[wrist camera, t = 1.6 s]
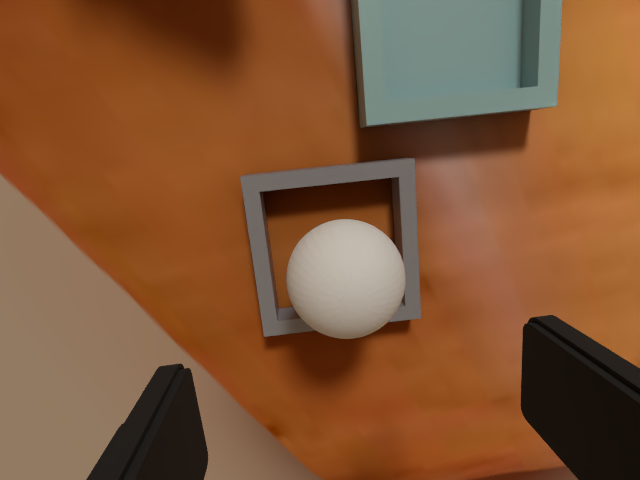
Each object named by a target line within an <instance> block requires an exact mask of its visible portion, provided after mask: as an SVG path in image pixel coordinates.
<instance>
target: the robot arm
mask: <svg viewBox="0 0 640 480" xmlns="http://www.w3.org/2000/svg"><path fill="white" fill-rule="evenodd" d="M521 410H522V413H523V416H524V417H525V419H526V420H527V422H528V423H529V424H530V425H531V426H532V427H533V428H534V430H535V431H536V432H537V433H538V434H539V435H540V436H541V437H542V439H543V440H544V441H545V442H546V443H547V444H548V445H549V447H550V448H551V449H552V450H553V451H554V452H555V453H556V455H557V456H558V457H559V458H560V459H561V460H562V461H563V462H564V464H565V465H566V466H567V467H568V468H569V469H570V470H571V472H572V473H574V475H575V476H576V477H577V478H578V479H579V480H640V369H639V368H638V367H636V366H635V365H633V364H631V363H630V362H628V361H627V360H625V359H623V358H622V357H620V356H618V355H617V354H615V353H614V352H612V351H610V350H609V349H607V348H606V347H604V346H602V345H601V344H599V343H598V342H596V341H594V340H593V339H591V338H589V337H588V336H586V335H585V334H583V333H581V332H580V331H578V330H577V329H575V328H573V327H572V326H570V325H568V324H567V323H565V322H564V321H562V320H560V319H559V318H557V317H556V316H553V315H548V316H540V317H533V318H530V319H529V321H528V323H527V324H525V325H524V327H523V347H522V381H521ZM207 464H208V451H207V446H206V441H205V436H204V431H203V426H202V421H201V417H200V412H199V407H198V402H197V397H196V392H195V387H194V382H193V377H192V373H191V370H190V369H189V368H186V369H184V367H183V365H182V364H175V365H167V366H160V367H159V368H158V369H157V370H156V372H155V374H154V375H153V377H152V379H151V380H150V382H149V384H148V385H147V387H146V388H145V390H144V391H143V393H142V395H141V396H140V398H139V400H138V401H137V403H136V405H135V406H134V408H133V410H132V411H131V413H130V414H129V416H128V418H127V419H126V421H125V423H124V424H122V425H121V426H120V427H119V428H118V430H117V431H116V433H115V435H114V436H113V438H112V440H111V441H110V443H109V444H108V446H107V448H106V449H105V451H104V452H103V454H102V456H101V457H100V459H99V460H98V462H97V464H96V465H95V467H94V468H93V470H92V472H91V473H90V475H89V476H88V478H87V480H204V476H205V472H206V469H207Z"/></svg>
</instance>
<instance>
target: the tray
mask: <svg viewBox="0 0 640 480" xmlns="http://www.w3.org/2000/svg"><path fill="white" fill-rule="evenodd" d="M351 13H352V27H353V41H354V55H355V69H356V82H357V96H358V110H359V124H360V128H365V127H375V126H385V125H395V124H405V123H414V122H424V121H434V120H444V119H453V118H463V117H473V116H483V115H492V114H502V113H512V112H522V111H531V110H537V109H543V108H549V107H555V106H557V100H558V79H559V58H560V37H561V16H562V0H351Z"/></svg>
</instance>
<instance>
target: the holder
mask: <svg viewBox="0 0 640 480" xmlns="http://www.w3.org/2000/svg"><path fill="white" fill-rule="evenodd" d="M384 178H391V181H392V199H393V218H394V236H395V246H396V248H397V250H398V251H399V253H400V255H401V258H402V261H403V264H404V269H405V291H404V295H403V298H402V301H401V304H400V306H399V308H398V310H397V311H396V313H395V314H394V315H393V317H392V318H391V319H390V320H389V321H388V322H394V321H402V320H411V319H419V318H421V308H420V283H419V257H418V232H417V207H416V181H415V158H398V159H389V160H379V161H370V162H360V163H351V164H341V165H332V166H322V167H313V168H303V169H294V170H284V171H275V172H265V173H256V174H246V175H243V176H241V177H240V179H241V185H242V192H243V199H244V205H245V212H246V219H247V225H248V232H249V239H250V246H251V252H252V259H253V266H254V272H255V279H256V286H257V292H258V299H259V306H260V312H261V319H262V326H263V332H264V337H267V336H275V335H284V334H292V333H301V332H309V331H316V330H314V329H313V328H312V327H310V326H309V325H308V324H307V323H305V322H304V320H303V319H302V318H301V317H300V316H299V315H298V313H297V312H296V310H295V309H294V307H289V308H280V309H279V306H278V298H277V291H276V284H275V276H274V269H273V262H272V254H271V247H270V240H269V232H268V225H267V218H266V210H265V203H264V196H263V191H271V190H281V189H290V188H299V187H309V186H318V185H328V184H337V183H346V182H356V181H365V180H375V179H384Z"/></svg>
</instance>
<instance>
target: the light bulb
mask: <svg viewBox="0 0 640 480" xmlns="http://www.w3.org/2000/svg"><path fill="white" fill-rule="evenodd" d="M286 280H287V290H288V294H289V298H290V300H291V302H292V305H293V307H294V309H295V310H296V312H297V313H298V315H299V316H300V317H301V318H302V319H303V320H304V322H305V323H307V324H308V325H309V326H310V327H312V328H313V329H314V330H316V331H318V332H320V333H322V334H324V335H327V336H330V337H334V338H340V339H352V338H359V337H363V336H366V335H369V334H371V333H373V332H375V331H377V330H378V329H380V328H381V327H383V326H384V325H385V324H386V323H387V322H388V321H389V320H390V319H391V318H392V317H393V315H394V314H395V313H396V311H397V310H398V308H399V306H400V304H401V301H402V298H403V295H404V291H405V269H404V264H403V261H402V258H401V255H400V253H399V251H398V250H397V248H396V246H395V245H394V243H393V242H392V241H391V240H390V238H389V237H388V236H386V235H385V234H384V233H383V232H382V231H380V230H379V229H377V228H376V227H374V226H372V225H370V224H368V223H365V222H362V221H358V220H351V219H341V220H334V221H329V222H326V223H324V224H321V225H319V226H317V227H316V228H314V229H312V230H311V231H310V232H308V233H307V234H306V235H305V236H304V237H303V238H302V239H301V240H300V241H299V242H298V244H297V246H296V247H295V249H294V250H293V252H292V255H291V257H290V260H289V263H288V267H287V276H286Z"/></svg>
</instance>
